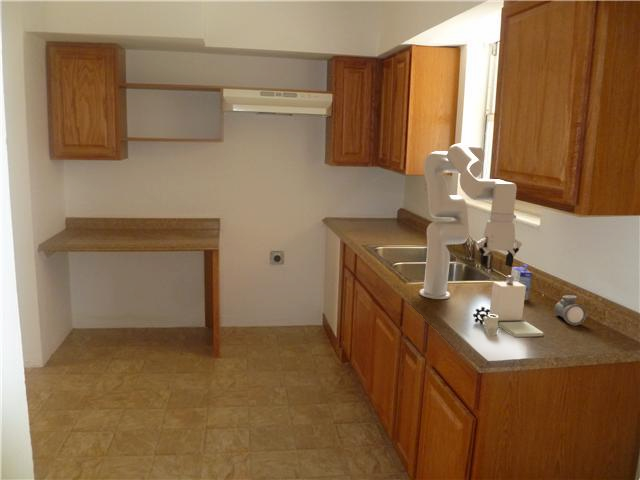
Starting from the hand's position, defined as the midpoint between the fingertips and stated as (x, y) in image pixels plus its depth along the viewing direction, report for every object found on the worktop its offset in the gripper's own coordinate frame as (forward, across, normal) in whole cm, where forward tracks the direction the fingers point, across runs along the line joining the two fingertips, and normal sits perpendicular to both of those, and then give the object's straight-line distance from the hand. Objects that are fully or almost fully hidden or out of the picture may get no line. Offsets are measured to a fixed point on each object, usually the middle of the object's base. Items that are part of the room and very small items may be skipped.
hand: (496, 266), depth 196 cm
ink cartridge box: (+23, -34, -34) cm, 53 cm away
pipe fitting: (+23, -36, -5) cm, 43 cm away
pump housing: (+23, -11, -7) cm, 26 cm away
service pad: (+23, -10, +3) cm, 25 cm away
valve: (+23, +2, +1) cm, 23 cm away
